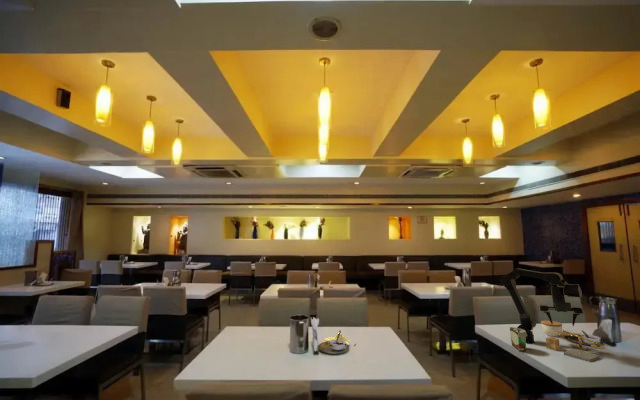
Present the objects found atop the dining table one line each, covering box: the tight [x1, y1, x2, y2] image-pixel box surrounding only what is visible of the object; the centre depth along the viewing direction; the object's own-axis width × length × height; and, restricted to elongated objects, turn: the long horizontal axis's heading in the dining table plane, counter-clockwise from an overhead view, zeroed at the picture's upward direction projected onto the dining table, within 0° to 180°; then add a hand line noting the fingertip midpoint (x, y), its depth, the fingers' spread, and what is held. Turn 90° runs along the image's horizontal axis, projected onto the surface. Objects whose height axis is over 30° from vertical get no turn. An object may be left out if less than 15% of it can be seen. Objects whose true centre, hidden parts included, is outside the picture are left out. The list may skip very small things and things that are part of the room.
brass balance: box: [557, 329, 607, 352], centre depth 170 cm, size 22×6×8 cm, turn 28°
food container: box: [509, 326, 527, 353], centre depth 170 cm, size 12×6×10 cm, turn 168°
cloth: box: [324, 331, 351, 344], centre depth 183 cm, size 22×19×6 cm
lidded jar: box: [540, 320, 563, 338], centre depth 194 cm, size 11×11×9 cm
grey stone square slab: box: [563, 348, 601, 363], centre depth 158 cm, size 11×11×1 cm
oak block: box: [545, 336, 561, 351], centre depth 170 cm, size 4×4×6 cm
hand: (562, 325), depth 169 cm, fingers open, 9 cm apart
